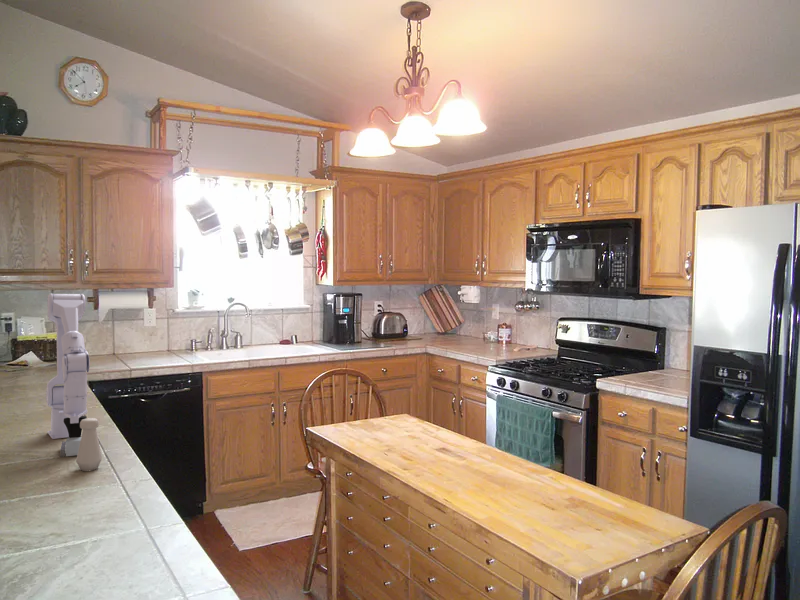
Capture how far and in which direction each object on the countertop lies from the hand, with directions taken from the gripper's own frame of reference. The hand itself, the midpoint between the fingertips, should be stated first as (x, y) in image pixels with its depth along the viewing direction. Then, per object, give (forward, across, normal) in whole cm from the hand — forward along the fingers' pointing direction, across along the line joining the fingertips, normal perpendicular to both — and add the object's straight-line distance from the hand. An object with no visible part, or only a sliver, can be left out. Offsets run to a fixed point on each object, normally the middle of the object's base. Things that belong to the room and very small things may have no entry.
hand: (74, 443), depth 169 cm
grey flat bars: (+2, +1, 0) cm, 2 cm away
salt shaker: (+3, +18, +4) cm, 19 cm away
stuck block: (+2, +3, 0) cm, 4 cm away
